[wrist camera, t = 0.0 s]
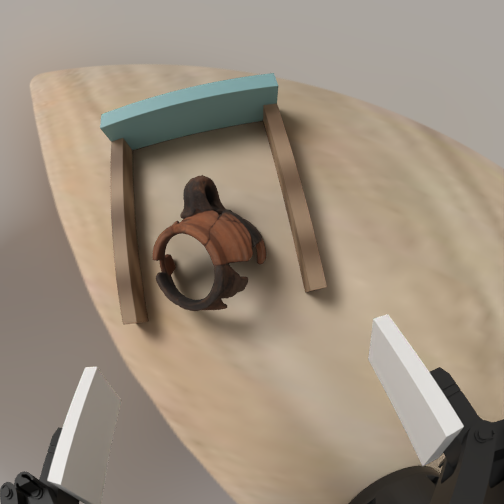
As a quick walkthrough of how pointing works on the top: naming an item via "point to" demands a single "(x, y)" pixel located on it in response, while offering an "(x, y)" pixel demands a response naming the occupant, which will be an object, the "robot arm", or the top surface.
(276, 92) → the end stop
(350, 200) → the top surface
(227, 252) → the pottery mug
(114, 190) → the channel
